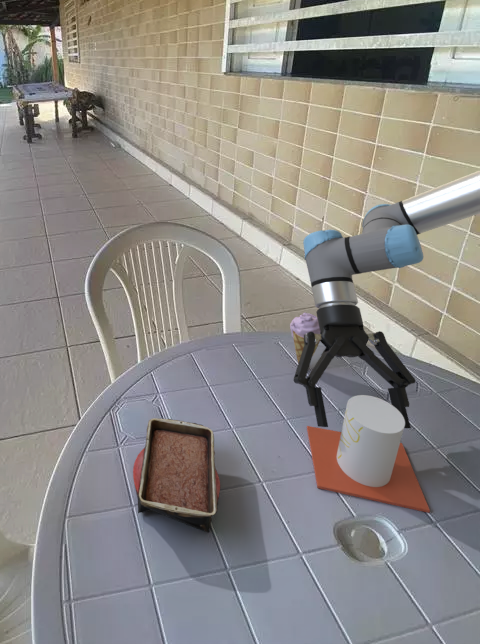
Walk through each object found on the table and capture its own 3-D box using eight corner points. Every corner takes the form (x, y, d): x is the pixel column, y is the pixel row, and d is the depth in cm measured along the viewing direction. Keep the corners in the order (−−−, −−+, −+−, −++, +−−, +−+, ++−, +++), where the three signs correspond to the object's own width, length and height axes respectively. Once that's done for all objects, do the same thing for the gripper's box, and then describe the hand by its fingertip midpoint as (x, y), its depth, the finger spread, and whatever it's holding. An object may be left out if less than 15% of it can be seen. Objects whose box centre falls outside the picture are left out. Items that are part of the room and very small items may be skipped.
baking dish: (222, 469, 78) (221, 421, 76) (218, 561, 62) (216, 503, 60) (146, 456, 83) (142, 411, 81) (123, 539, 66) (118, 484, 64)
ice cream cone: (286, 373, 97) (293, 318, 92) (284, 356, 103) (290, 303, 98) (318, 378, 95) (327, 322, 90) (314, 360, 101) (322, 306, 95)
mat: (401, 445, 78) (402, 443, 78) (429, 513, 67) (430, 510, 67) (306, 427, 83) (307, 425, 83) (317, 488, 72) (317, 485, 71)
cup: (337, 439, 80) (347, 389, 75) (389, 456, 76) (403, 405, 71) (335, 473, 73) (346, 421, 69) (391, 495, 69) (406, 441, 65)
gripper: (393, 310, 85) (425, 427, 76) (266, 312, 87) (283, 425, 79) (415, 302, 78) (453, 429, 70) (276, 303, 80) (297, 427, 72)
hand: (363, 427), depth 74 cm, fingers open, 13 cm apart
